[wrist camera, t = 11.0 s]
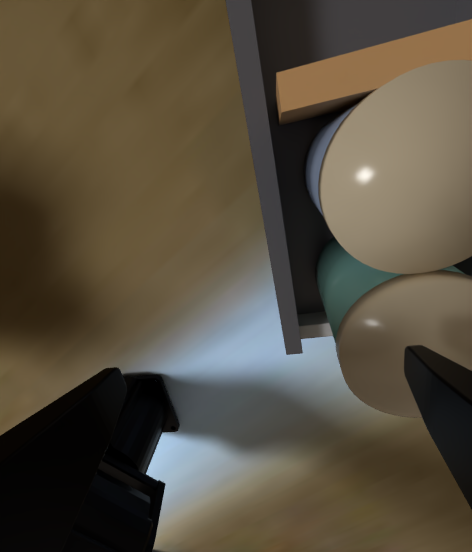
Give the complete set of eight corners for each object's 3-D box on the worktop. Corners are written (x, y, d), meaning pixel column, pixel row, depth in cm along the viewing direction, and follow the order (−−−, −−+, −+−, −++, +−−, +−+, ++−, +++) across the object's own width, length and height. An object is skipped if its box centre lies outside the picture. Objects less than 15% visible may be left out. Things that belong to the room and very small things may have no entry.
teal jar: (417, 306, 18) (512, 412, 11) (318, 318, 20) (346, 421, 12) (422, 210, 16) (546, 268, 9) (308, 230, 17) (335, 296, 10)
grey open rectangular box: (447, 304, 20) (511, 361, 14) (284, 322, 22) (287, 377, 16) (487, -218, 11) (680, -551, 6) (213, -105, 13) (173, -276, 8)
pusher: (442, 86, 14) (547, 46, 9) (279, 125, 16) (281, 112, 10) (443, 57, 14) (555, -5, 8) (275, 100, 15) (276, 72, 10)
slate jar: (415, 212, 17) (524, 260, 9) (307, 229, 18) (329, 284, 11) (420, 90, 14) (568, 29, 7) (295, 119, 16) (314, 92, 8)
